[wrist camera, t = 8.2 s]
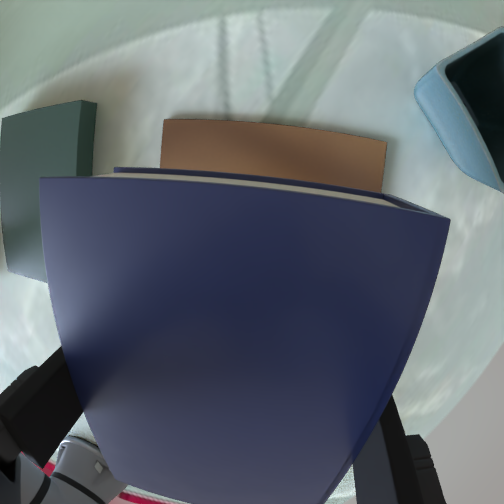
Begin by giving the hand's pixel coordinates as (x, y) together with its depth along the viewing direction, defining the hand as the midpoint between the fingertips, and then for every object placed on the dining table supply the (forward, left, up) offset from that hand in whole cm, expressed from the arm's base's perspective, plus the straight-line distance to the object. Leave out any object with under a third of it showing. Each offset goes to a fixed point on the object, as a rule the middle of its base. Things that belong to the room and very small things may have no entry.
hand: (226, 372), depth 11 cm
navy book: (0, 0, -1) cm, 1 cm away
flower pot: (+15, -15, -15) cm, 26 cm away
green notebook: (+4, +23, -15) cm, 28 cm away
